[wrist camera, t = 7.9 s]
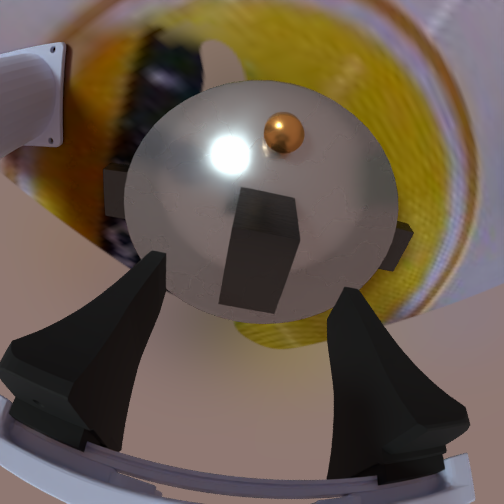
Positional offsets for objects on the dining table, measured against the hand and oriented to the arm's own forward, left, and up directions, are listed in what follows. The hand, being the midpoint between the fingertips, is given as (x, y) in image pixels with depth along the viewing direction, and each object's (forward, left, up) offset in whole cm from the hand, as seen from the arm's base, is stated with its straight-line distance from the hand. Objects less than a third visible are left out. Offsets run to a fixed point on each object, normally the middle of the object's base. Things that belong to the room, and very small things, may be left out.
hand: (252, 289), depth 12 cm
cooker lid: (0, 0, -5) cm, 5 cm away
